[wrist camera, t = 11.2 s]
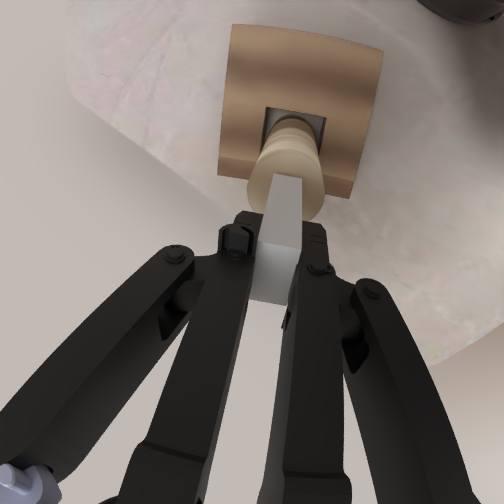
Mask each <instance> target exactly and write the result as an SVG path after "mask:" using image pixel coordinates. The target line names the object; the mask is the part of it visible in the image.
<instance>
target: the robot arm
mask: <svg viewBox="0 0 504 504" xmlns="http://www.w3.org/2000/svg"><path fill="white" fill-rule="evenodd" d="M418 1H419V2H421V3H422V4H423V5H424V6H426V7H427V8H429V9H430V10H431V11H433V12H435V13H436V14H438V15H440V16H442V17H444V18H446V19H448V20H451V21H453V22H456V23H460V24H465V25H478V24H486V23H490V22H493V21H495V20H497V19H498V18H499V17H500V16H501V15H502V14H503V13H504V0H418ZM249 299H251V300H257V301H262V302H268V303H273V304H279V305H285V306H286V305H287V301H288V306H287V310H286V313H285V316H284V320H283V323H282V326H281V328H282V329H283V337H282V346H281V355H280V363H279V372H278V381H277V388H276V396H275V403H274V411H273V418H272V425H271V432H270V439H269V447H268V453H267V459H266V465H265V472H264V478H263V483H262V486H261V489H260V492H259V496H258V500H257V504H351V503H352V485H351V482H350V479H349V477H348V476H347V475H346V474H345V473H344V470H343V452H344V451H343V450H344V392H343V391H344V388H343V374H344V378H345V381H346V384H347V388H348V391H349V394H350V398H351V401H352V405H353V408H354V412H355V415H356V418H357V422H358V426H359V430H360V433H361V437H362V440H363V445H364V448H365V452H366V456H367V460H368V464H369V468H370V472H371V476H372V480H373V485H374V489H375V493H376V498H377V502H378V504H481V503H480V502H479V500H478V499H477V497H476V496H475V495H474V493H473V492H472V488H471V485H470V481H469V478H468V474H467V471H466V468H465V464H464V461H463V458H462V455H461V452H460V449H459V446H458V443H457V440H456V438H455V435H454V432H453V429H452V426H451V424H450V421H449V419H448V416H447V413H446V411H445V408H444V406H443V403H442V401H441V399H440V396H439V394H438V391H437V389H436V387H435V385H434V382H433V380H432V378H431V375H430V373H429V371H428V369H427V366H426V364H425V362H424V360H423V358H422V356H421V354H420V352H419V349H418V347H417V345H416V343H415V341H414V339H413V337H412V335H411V333H410V331H409V329H408V327H407V325H406V323H405V321H404V319H403V318H402V316H401V314H400V312H399V310H398V308H397V306H396V304H395V303H394V301H393V299H392V297H391V295H390V293H389V292H388V290H387V289H386V288H385V286H384V285H382V284H381V283H380V282H378V281H376V280H373V279H369V278H363V279H360V280H358V281H357V282H356V284H355V285H354V284H351V283H349V282H347V281H344V280H343V279H341V278H339V277H338V276H336V272H335V269H334V267H333V266H332V265H331V264H330V263H329V254H328V245H327V236H326V230H325V229H324V228H323V226H322V225H321V224H318V223H313V222H308V221H302V178H297V177H292V176H286V175H281V174H275V173H274V175H273V179H272V183H271V187H270V191H269V195H268V199H267V204H266V208H265V212H264V214H260V213H254V212H248V211H242V212H240V213H239V214H237V215H236V217H235V220H234V223H233V224H227V225H225V226H223V227H222V228H221V229H220V230H219V239H218V251H217V253H216V254H213V255H209V256H194V252H193V251H192V250H191V249H190V248H188V247H186V246H182V245H170V246H166V247H164V248H162V249H161V250H159V251H158V252H157V253H156V254H155V255H154V256H153V257H151V258H150V259H149V260H148V261H147V262H146V263H145V264H144V265H143V266H141V268H139V269H138V270H137V271H136V272H135V273H134V274H133V275H132V276H130V277H129V278H128V279H127V280H126V281H125V282H124V283H123V284H122V285H121V286H120V287H119V288H118V289H116V290H115V291H114V292H113V293H112V294H111V295H110V296H109V297H108V298H107V299H106V300H105V301H104V302H103V303H102V304H101V305H100V306H99V307H98V308H97V309H96V310H95V311H94V312H92V313H91V314H90V315H89V316H88V317H87V318H86V319H85V320H84V321H83V322H82V323H81V324H80V325H79V327H77V328H76V329H75V330H74V331H73V332H72V333H71V335H69V336H68V338H67V339H66V340H65V341H64V342H63V343H62V344H61V345H60V346H59V347H58V348H57V349H56V350H55V351H54V352H53V353H52V354H51V355H50V356H49V357H48V358H47V359H46V361H45V362H44V363H43V364H42V365H41V366H40V367H39V368H38V369H37V371H35V372H34V374H33V375H32V376H31V377H30V378H29V379H28V380H27V381H26V382H25V384H24V385H23V386H22V387H21V388H20V390H18V392H17V393H16V394H15V395H14V396H13V397H12V399H11V400H10V401H9V402H8V403H7V404H6V406H5V407H4V408H3V409H2V411H0V504H58V502H60V500H61V499H62V494H61V491H60V489H59V486H58V483H59V482H61V481H62V480H64V479H65V478H66V477H67V476H69V475H70V474H71V473H72V472H73V471H74V470H75V469H76V468H77V467H78V466H79V464H80V463H81V462H82V461H83V460H84V458H85V457H86V456H87V455H88V453H89V452H90V450H91V449H92V447H93V446H94V445H95V444H96V442H97V441H98V440H99V438H100V437H101V435H102V434H103V433H104V432H105V430H106V429H107V428H108V426H109V425H110V424H111V422H112V421H113V420H114V418H115V417H116V416H117V414H118V413H119V412H120V411H121V409H122V408H123V407H124V405H125V404H126V402H127V401H128V400H129V399H130V397H131V396H132V395H133V393H134V392H135V391H136V389H137V388H138V387H139V385H140V384H141V383H142V381H143V380H144V379H145V377H146V376H147V375H148V374H149V372H150V371H151V370H152V368H153V367H154V366H155V364H156V363H157V362H158V360H159V359H160V358H161V356H162V355H163V354H164V353H165V351H166V350H167V349H168V347H169V346H170V345H171V343H172V342H173V341H174V339H175V338H176V337H177V336H178V334H179V333H180V332H181V330H182V329H183V328H184V326H185V325H186V324H187V323H188V321H189V323H188V325H187V328H186V330H185V333H184V336H183V338H182V341H181V343H180V346H179V349H178V351H177V354H176V357H175V359H174V362H173V365H172V367H171V370H170V373H169V375H168V378H167V381H166V384H165V386H164V389H163V392H162V394H161V397H160V400H159V402H158V405H157V408H156V411H155V414H154V417H153V419H152V422H151V425H150V428H149V431H148V433H147V436H146V437H145V439H144V440H143V441H142V442H141V443H139V444H138V445H137V447H136V448H135V450H134V452H133V454H132V457H131V459H130V461H129V464H128V467H127V470H126V473H125V476H124V479H123V483H122V485H121V488H120V491H119V494H118V496H115V497H112V498H109V499H107V500H105V501H103V502H101V503H99V504H203V502H204V499H205V494H206V490H207V485H208V479H209V474H210V470H211V465H212V461H213V457H214V452H215V448H216V444H217V440H218V435H219V431H220V427H221V422H222V418H223V414H224V409H225V405H226V401H227V396H228V392H229V387H230V383H231V378H232V374H233V370H234V365H235V361H236V356H237V352H238V348H239V343H240V339H241V334H242V330H243V325H244V320H245V316H246V312H247V306H248V300H249Z"/></svg>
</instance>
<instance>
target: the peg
mask: <svg viewBox="0 0 504 504" xmlns="http://www.w3.org/2000/svg"><path fill="white" fill-rule="evenodd" d="M274 173H275V174H281V175H286V176H292V177H297V178H302V221H310V220H311V219H312V218H314V217H315V216H316V215H317V213H318V212H319V211H320V209H321V207H322V205H323V202H324V197H325V189H324V183H323V177H322V172H321V167H320V161H319V156H318V152H317V147H316V142H315V135H314V132H313V129H312V126H311V124H310V123H309V122H308V120H306V119H305V118H304V117H302V116H300V115H296V114H288V115H284V116H282V117H280V118H279V119H278V120H277V121H276V122H275V124H274V126H273V127H272V129H271V131H270V133H269V136H268V139H267V141H266V143H265V145H264V147H263V149H262V152H261V154H260V156H259V158H258V160H257V163H256V165H255V167H254V169H253V172H252V174H251V176H250V178H249V181H248V186H247V196H248V200H249V203H250V205H251V207H252V209H253V210H254V211H255V213H260V214H264V212H265V208H266V204H267V199H268V195H269V191H270V187H271V183H272V179H273V175H274Z"/></svg>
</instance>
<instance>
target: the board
mask: <svg viewBox="0 0 504 504" xmlns="http://www.w3.org/2000/svg"><path fill="white" fill-rule="evenodd" d="M382 56H383V51H382V50H379V49H375V48H372V47H369V46H365V45H362V44H358V43H354V42H351V41H347V40H343V39H338V38H334V37H330V36H325V35H320V34H315V33H309V32H304V31H298V30H291V29H284V28H276V27H267V26H257V25H243V24H232V30H231V38H230V46H229V54H228V63H227V72H226V81H225V91H224V101H223V112H222V122H221V134H220V146H219V159H218V172H217V175H220V176H227V177H234V178H240V179H246V180H249V178H250V176H251V174H252V172H253V169H254V167H255V165H256V163H257V160H258V158H259V156H260V154H261V152H262V149H263V143H264V136H265V128H266V121H267V114H268V107H272V108H278V109H285V110H290V111H296V112H301V113H307V114H312V115H317V116H321V117H324V118H323V123H322V128H321V133H320V138H319V143H318V148H317V152H318V156H319V161H320V167H321V172H322V177H323V183H324V189H325V194H328V195H332V196H337V197H342V198H346V199H349V198H350V194H351V191H352V187H353V184H354V180H355V176H356V173H357V169H358V165H359V161H360V158H361V154H362V150H363V146H364V142H365V138H366V133H367V129H368V125H369V121H370V116H371V112H372V107H373V103H374V98H375V93H376V88H377V83H378V78H379V73H380V67H381V62H382Z"/></svg>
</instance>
